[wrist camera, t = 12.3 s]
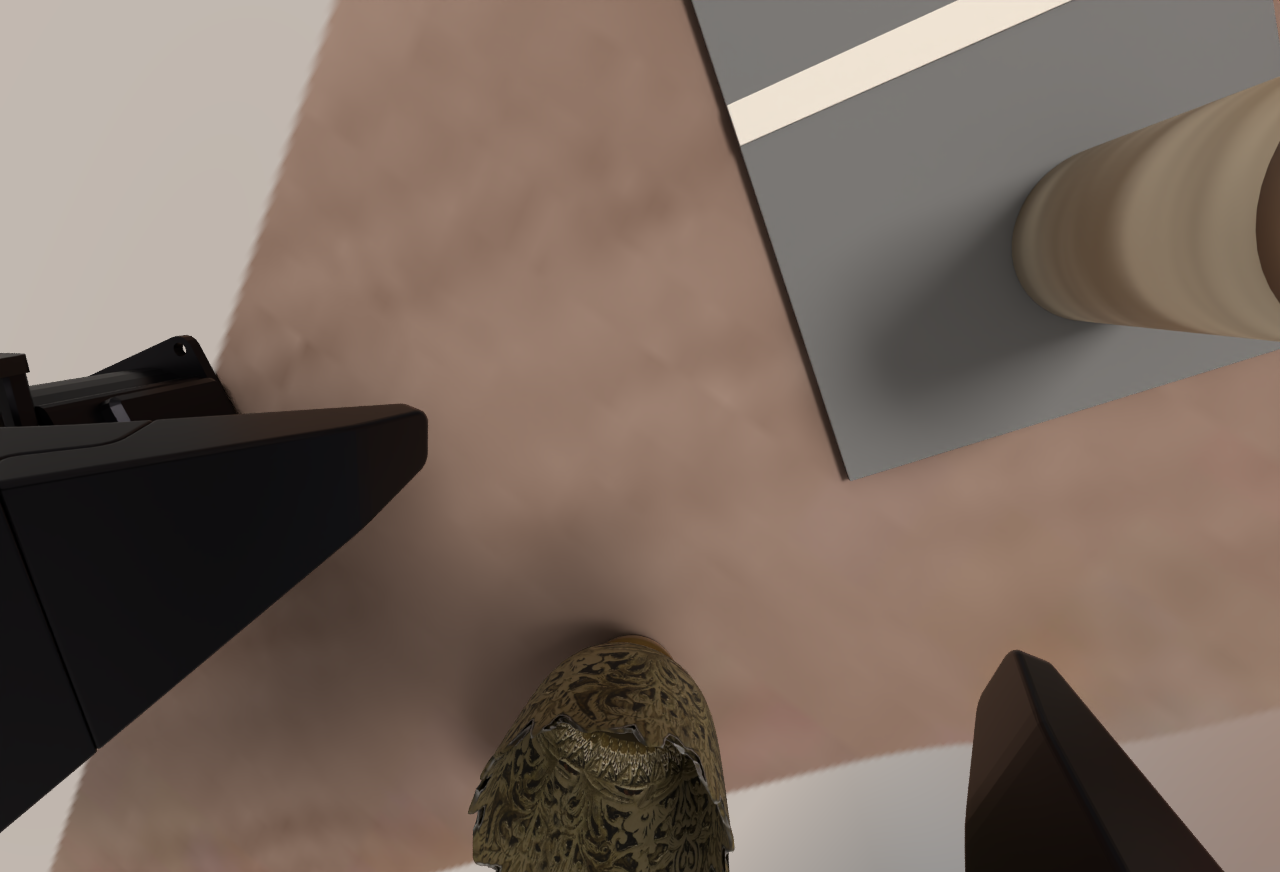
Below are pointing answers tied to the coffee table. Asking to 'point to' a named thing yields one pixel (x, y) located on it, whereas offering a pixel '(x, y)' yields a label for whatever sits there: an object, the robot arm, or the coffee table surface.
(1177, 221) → the birch pin
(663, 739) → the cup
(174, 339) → the robot arm
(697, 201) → the coffee table surface
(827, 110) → the mat
